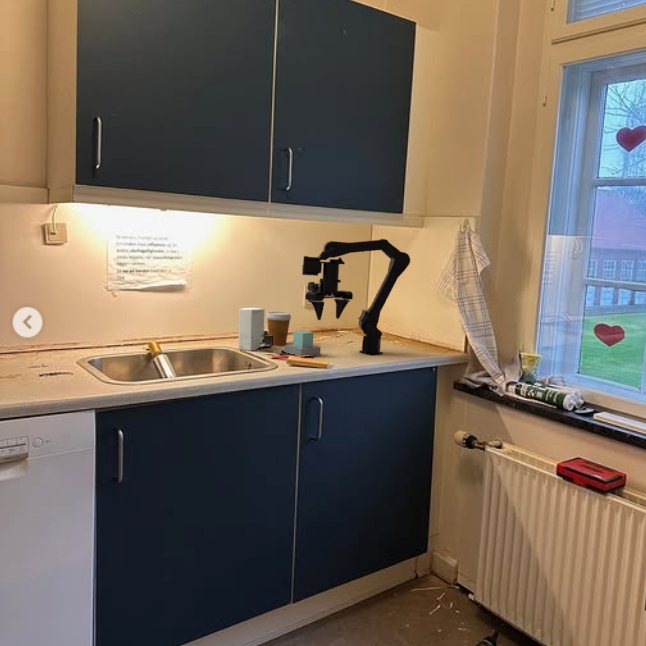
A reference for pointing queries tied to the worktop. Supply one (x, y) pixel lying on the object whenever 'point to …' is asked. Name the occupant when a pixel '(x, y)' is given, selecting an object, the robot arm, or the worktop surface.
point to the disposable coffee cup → (278, 327)
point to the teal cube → (303, 339)
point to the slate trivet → (302, 350)
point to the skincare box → (251, 328)
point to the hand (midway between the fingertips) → (328, 319)
